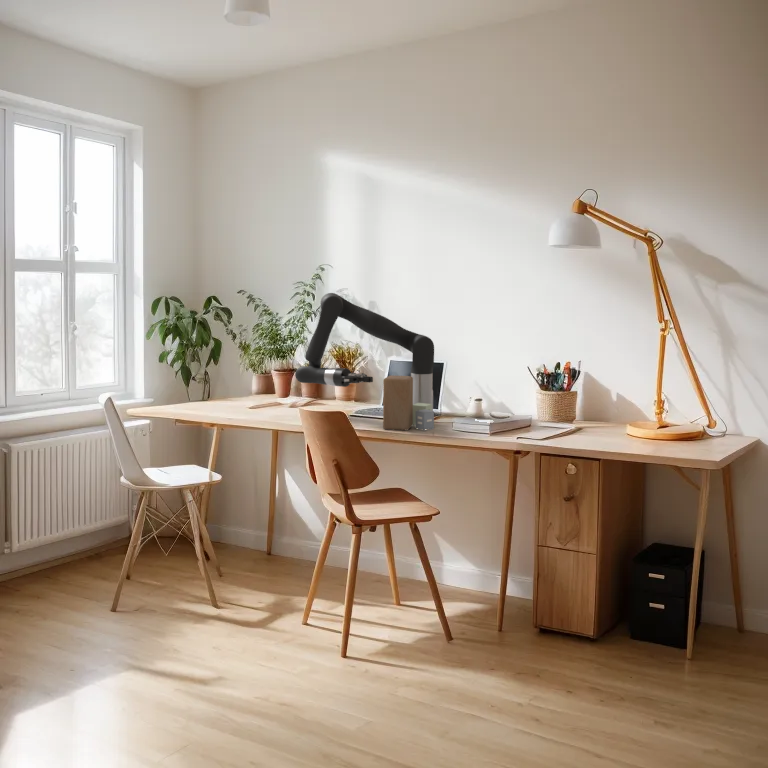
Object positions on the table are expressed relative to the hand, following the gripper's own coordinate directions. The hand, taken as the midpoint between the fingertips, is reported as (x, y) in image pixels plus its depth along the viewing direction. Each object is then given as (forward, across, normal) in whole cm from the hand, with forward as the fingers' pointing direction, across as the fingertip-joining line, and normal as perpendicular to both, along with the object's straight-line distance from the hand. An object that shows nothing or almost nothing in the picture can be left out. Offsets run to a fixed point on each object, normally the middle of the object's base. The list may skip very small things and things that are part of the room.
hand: (371, 379), depth 339 cm
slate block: (+23, +2, +18) cm, 30 cm away
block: (+14, -3, +18) cm, 23 cm away
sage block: (+17, +9, +18) cm, 27 cm away
